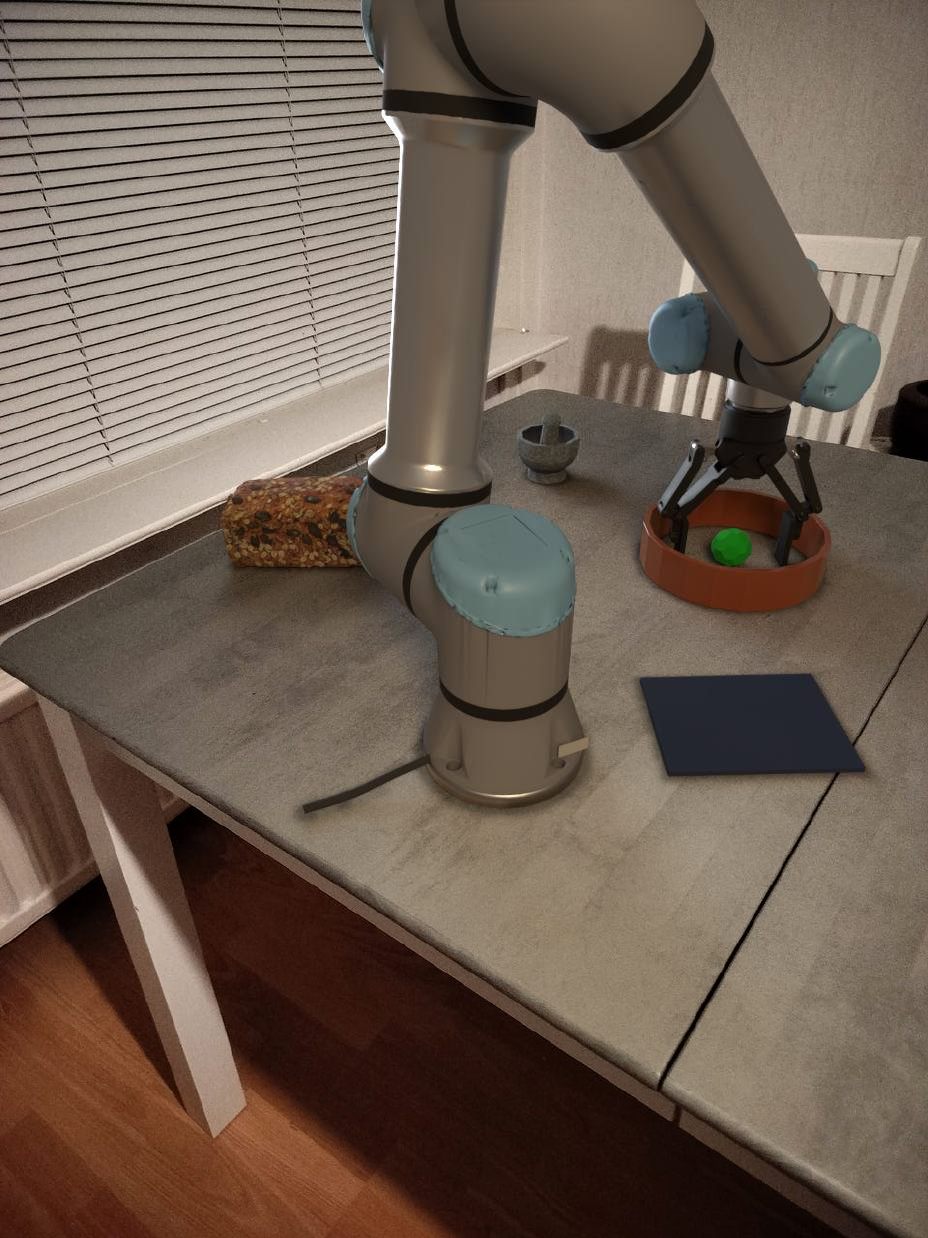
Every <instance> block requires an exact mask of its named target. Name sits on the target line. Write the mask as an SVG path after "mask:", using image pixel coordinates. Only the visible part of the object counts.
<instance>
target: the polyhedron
mask: <svg viewBox="0 0 928 1238" xmlns="http://www.w3.org/2000/svg"><path fill="white" fill-rule="evenodd" d="M710 551H711V553H712V555H713V557H714V560H715V561H716V562H718V563H720V564H721V565H722V566H727V567H735V566H739V565H743V564H744V563H745V562H746V561H747V559H749V557H750V556H752V552H753V544H752V541H751V538H750V537H749V535H748V534H747V533H746V532H744V531H743V530H740V529H739V528H737V527H730V528H727V529H723V530H720V531H719V532H718V533H717V534H716V535H715V537H714V538H713V539H712V540H711V545H710Z"/></svg>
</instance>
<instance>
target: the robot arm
mask: <svg viewBox="0 0 928 1238" xmlns="http://www.w3.org/2000/svg"><path fill="white" fill-rule="evenodd" d="M360 13H361V14H360V15H361V16H360V17H361V23H362V28H363V29H362V30H363V34H364V39H365V43H366V46H367V48H368V50H369V53H370V54H371V55H372V56H373V58H374V60H375V63H376V64H377V66H378V69H379V71H380V72H381V73H382V77H383V78H382V99H381V101H382V103H381V116H382V118H383V119H384V121H385V122H386V124H387V125H388V126H389V128H390V129H391V130H392V132H393V133H394V135H395V136H396V137H397V139H398V142H399V148H400V153H399V156H400V157H399V175H398V190H397V191H398V195H397V215H396V229H395V231H396V233H395V252H394V270H393V271H394V273H393V275H394V276H393V291H392V292H393V293H392V309H391V310H392V313H391V331H390V351H389V369H388V370H389V371H388V389H387V408H386V409H387V411H386V427H385V428H386V429H385V444H384V445H383V446H382V447H380V449H378V450H377V451H376V452H375V453H373V454H372V455H371V456H370V457H369V459H368V462H367V474H366V475H365V476H364V478H363V484H362V485H361V487H360V488H359V489H358V488H357V489H355V491H354V493H353V495H352V498H351V500H350V503H349V507H348V511H347V520H346V524H347V534H348V539H349V542H350V545H351V547H352V549H353V551H354V553H355V555H356V556H357V558H358V559H359V560H360V562H361V564H362V565H361V566H362V567H363V568H364V570H365V571H366V572H367V574H368V575H369V576H370V577H371V578H372V579H374V580H375V581H376V582H377V583H378V584H379V585H381V586H382V587H383V588H384V589H385V590H386V591H388V593H389V594H391V595H392V596H393V597H394V598H395V599H396V600H397V601H398V602H399V603H400V604H401V605H402V606H403V607H404V608H405V609H407V611H408V612H409V613H411V614H412V615H413V616H414V618H416V619H417V620H418V621H419V622H420V623H421V624H422V625H423V626H424V627H425V628H426V629H427V630H428V631H429V632H430V633H431V634H432V635H433V637H434V639H435V642H436V645H437V663H438V665H437V666H438V678H439V679H438V682H439V686H438V689H437V691H436V694H435V697H434V699H433V702H432V705H431V707H430V711H429V714H428V716H427V719H426V722H425V725H424V729H423V733H422V748H423V756H421V757H419V758H417V759H414V760H412V761H410V762H408V763H405V764H404V765H402V766H399V767H397V768H395V769H392V770H391V771H388V772H386V773H384V774H381V775H380V776H378V777H376V778H374V779H372V780H371V781H368V782H366V783H364V784H362V785H359V786H357V787H354V788H352V789H349V790H348V791H344V792H342V793H338V794H336V795H332V796H330V797H329V796H328V797H326V798H322V799H319V800H314V801H312V802H309V803H305V804H302V809H303V812H304V814H308V813H312V812H315V811H318V810H321V809H322V810H323V809H326V808H328V807H331V806H335V805H339V804H341V803H344V802H347V801H351V800H352V799H355V798H358V797H360V796H362V795H365V794H367V793H369V792H371V791H373V790H375V789H377V788H379V787H381V786H382V785H384V784H386V783H389V782H391V781H393V780H395V779H397V778H400V777H403V776H404V775H406V774H408V773H410V772H412V771H414V770H417V769H418V768H422V767H424V766H425V767H426V769H427V771H428V773H429V774H430V776H431V777H432V779H433V780H434V782H436V783H437V784H438V785H439V786H440V787H441V788H442V789H443V790H445V791H446V792H447V793H449V794H451V795H452V796H454V797H455V798H457V799H459V800H462V801H464V802H467V803H470V804H473V805H477V806H481V807H487V808H494V809H517V808H524V807H529V806H532V805H536V804H540V803H543V802H544V801H545V802H546V801H547V800H549V799H551V798H553V797H555V796H557V795H559V794H560V793H562V792H563V791H564V790H566V789H567V788H568V787H569V786H570V785H571V784H572V783H573V781H574V780H575V779H576V778H577V776H578V774H579V772H580V771H581V768H582V765H583V762H584V761H583V760H584V752H585V750H586V749H588V748H589V740H590V739H589V738H590V736H586V737H585V735H584V730H583V727H582V723H581V720H580V717H579V714H578V712H577V708H576V706H575V703H574V700H573V698H572V695H571V692H570V689H569V678H570V677H569V676H570V667H571V666H570V665H571V653H572V642H573V641H572V639H573V630H574V629H573V627H574V614H575V605H576V604H575V603H576V595H577V591H578V589H577V579H576V565H575V554H574V550H573V548H572V547H573V546H572V545H571V543H570V541H569V539H568V538H567V535H566V534H565V532H563V531H562V529H560V527H559V526H558V525H556V523H554V522H553V521H551V520H550V519H548V518H547V517H546V516H543V515H542V514H540V513H538V512H535V511H533V510H531V509H527V508H523V507H522V508H520V509H513V506H512V505H510V504H509V505H508V504H502V503H501V504H499V503H491V498H492V497H491V495H492V489H493V487H492V486H493V479H494V471H493V468H492V467H491V466H490V465H489V464H488V462H487V461H486V460H485V458H484V457H483V456H482V455H481V454H480V449H481V439H482V430H483V423H484V422H483V421H484V411H485V404H486V403H485V402H486V395H487V386H488V385H487V384H488V376H489V375H488V374H489V367H490V366H489V365H490V358H491V347H492V340H493V339H492V338H493V329H494V320H495V310H496V303H497V302H496V301H497V292H498V285H499V284H498V283H499V276H500V275H499V273H500V265H501V256H502V249H503V248H502V246H503V236H504V230H505V229H504V227H505V221H506V220H505V219H506V209H507V200H508V194H509V193H508V191H509V183H510V175H511V166H512V165H511V163H512V159H513V156H514V154H515V153H516V151H517V150H518V149H519V148H520V147H522V146H523V144H524V143H526V142H527V141H528V140H529V139H530V138H531V137H532V136H533V135H534V134H535V129H536V123H537V113H538V107H539V101H541V102H543V103H545V104H547V105H549V106H551V107H552V108H554V109H555V110H556V111H558V112H559V113H561V114H562V115H563V116H565V118H566V119H568V120H570V122H572V124H573V125H574V127H576V129H577V130H578V132H579V133H580V134H581V136H582V137H583V139H584V140H585V142H586V144H588V145H589V147H590V148H591V149H593V150H594V151H596V152H599V153H604V154H605V153H606V154H609V153H610V154H612V153H613V154H614V155H615V157H616V159H617V160H618V161H619V163H620V164H621V165H622V167H623V169H624V170H625V172H626V173H627V175H628V176H629V178H630V180H632V182H633V184H634V185H635V187H636V188H637V189H638V191H639V193H640V194H641V195H642V197H643V198H644V200H645V201H646V202H647V204H648V205H649V207H650V208H651V210H652V212H653V213H654V214H655V216H656V218H657V219H658V220H659V222H660V223H661V225H662V226H663V228H664V229H665V230H666V232H667V234H668V235H669V237H670V238H671V239H672V241H673V243H674V244H675V246H676V247H677V249H678V250H679V251H680V253H681V254H682V256H683V257H684V259H685V260H686V261H687V263H688V264H689V266H690V267H691V269H692V271H693V273H694V274H695V275H696V276H697V279H699V281H700V283H701V284H702V286H703V287H704V288H705V290H706V291H701V292H695V293H694V292H688V293H685V294H684V295H682V296H679V297H675V298H671V299H668V300H666V301H664V302H663V303H661V304H660V305H659V306H658V307H657V308H656V310H655V311H654V312H653V314H652V316H651V318H650V321H649V325H648V335H647V344H648V349H649V353H650V355H651V358H652V359H653V361H654V363H655V365H656V366H657V367H658V368H659V369H660V370H661V371H663V372H664V373H666V374H669V375H671V376H679V375H689V376H690V375H692V374H695V373H697V372H701V371H703V372H709V373H711V374H714V375H717V376H720V377H723V378H726V379H727V382H726V387H725V395H724V396H725V398H726V400H725V401H724V402H723V405H722V412H721V418H720V423H719V424H720V425H719V431H718V437H717V439H716V440H715V442H714V443H703V442H701V441H700V440H699V439H697V438H695V439H692V440H691V441H690V444H689V447H688V452H687V455H686V458H685V459H684V460H683V462H682V463H681V465H680V467H679V469H678V470H677V471H676V473H675V475H674V477H673V478H672V480H671V481H670V483H669V484H668V485H667V488H665V491H663V494H662V495H661V497H660V498H659V499H660V500H659V502H658V503H657V508H658V511H659V513H660V515H661V517H662V518H670V523H669V531H668V533H667V536H668V539H669V541H670V543H671V544H673V549H674V550H676V551H678V552H680V553H682V554H684V555H686V548H687V542H688V535H689V529H690V527H689V522H688V520H687V518H686V517H687V516H688V515H689V514H690V513H691V512H692V511H693V510H694V509H695V508H696V507H697V506H699V505H700V504H701V503H702V502H703V501H704V500H705V499H706V498H707V497H708V496H709V495H710V494H711V493H712V492H713V491H714V490H715V489H716V488H719V486H721V485H722V486H723V485H724V484H725V483H726V482H728V481H729V480H730V479H733V481H742V480H745V479H751V480H760V479H761V478H763V477H764V476H767V477H768V478H769V480H770V482H772V484H773V485H774V487H775V488H776V489H777V491H778V492H779V494H780V495H781V498H783V499H785V501H786V502H787V504H788V505H789V506H790V508H791V509H792V511H791V512H790V511H784V512H783V517H782V521H781V526H780V531H779V535H778V539H777V540H776V545H775V549H774V555H773V556H774V557H775V559H776V561H777V562H778V564H779V565H780V567H784V566H788V563H789V557H790V553H791V549H792V541H793V540H798V539H799V537H800V535H801V531H802V526H803V522H805V521H807V520H808V519H809V514H812V513H814V514H815V515H819V514H821V513H822V512H823V510H824V507H823V504H822V500H821V497H820V494H819V490H818V486H817V483H816V480H815V476H814V473H813V470H812V465H811V462H810V459H811V451H812V446H811V445H810V444H809V442H808V441H806V439H805V438H804V437H803V436H796V437H794V440H789V441H786V436H787V432H788V429H789V424H790V419H791V413H792V407H791V404H792V403H793V402H794V403H796V404H799V405H800V406H802V407H804V408H813V409H818V410H821V411H824V412H828V413H833V414H834V413H835V414H836V413H841V412H846V411H848V410H849V409H851V408H853V407H854V406H856V404H858V403H859V402H860V401H861V400H862V399H863V398H864V396H865V394H866V393H867V392H868V390H869V389H870V388H871V387H872V385H873V383H874V381H875V380H876V378H877V375H878V373H879V370H880V365H881V360H882V345H881V342H880V339H879V337H878V336H877V334H875V333H873V332H872V331H871V330H868V329H866V328H863V327H861V326H858V324H857V323H854V322H848V323H846V322H842V321H841V320H840V319H839V318H838V316H837V314H836V312H835V310H834V308H833V307H832V305H831V304H830V300H829V299H828V297H827V295H826V294H825V291H824V289H823V287H822V285H821V283H820V281H819V279H818V276H819V267H818V265H817V263H815V262H814V261H813V260H812V259H810V258H808V257H807V255H806V254H805V252H804V250H803V248H802V246H801V244H800V242H799V239H798V238H797V237H796V235H795V233H794V230H793V229H792V226H791V225H790V223H789V221H788V219H787V216H786V215H785V212H784V210H783V209H782V207H781V205H780V203H779V201H778V199H777V198H776V195H775V193H774V192H773V190H772V187H771V185H770V184H769V182H768V180H767V177H766V176H765V174H764V171H763V170H762V168H761V166H760V164H759V162H758V161H757V158H756V156H755V154H754V152H753V151H752V149H751V147H750V145H749V142H748V140H747V139H746V136H745V134H744V132H743V131H742V129H741V127H740V125H739V123H738V121H737V119H736V117H735V115H734V113H733V111H732V108H731V107H730V105H729V103H728V101H727V100H726V97H725V96H724V93H723V92H722V90H721V87H720V85H719V84H718V81H717V80H716V78H715V76H714V74H713V73H712V68H713V65H714V61H715V58H716V52H717V45H716V39H715V37H714V35H713V33H712V29H711V28H710V27H709V24H708V21H707V20H706V18H705V16H704V14H703V12H702V11H701V9H700V7H699V5H698V4H697V2H696V0H360ZM786 454H787V455H788V457H789V458H790V459H791V460H792V461H793V465H794V467H795V471H796V475H797V478H798V481H799V485H800V488H801V491H802V494H803V497H804V501H801V502H800V500H799V498H798V497H797V496H796V494H795V493H794V491H793V490H792V489H791V487H790V486H789V484H788V483H787V481H786V480H785V479H784V477H783V475H782V474H781V472H780V471H779V470H778V468H777V467H776V466H775V465H777V463H778V462H780V461H781V460H782V458H784V457H785V455H786ZM711 456H714V457H715V458H716V460H715V461H714V462H713V463H712V464H711V465H709V467H708V469H707V471H706V472H705V473H704V474H703V475H702V476H701V477H700V478H699V479H698V480H697V481H696V482H695V483H694V484H693V485H692V486H691V484H692V482H693V481H694V479H695V478H696V476H697V475H698V473H699V472H700V470H701V468H702V465H703V463H706V462H708V460H709V458H710V457H711ZM690 486H691V487H690ZM689 487H690V488H689ZM686 490H688V491H687V492H686V493H685V491H686ZM684 493H685V494H684ZM683 494H684V495H683ZM490 503H491V504H490Z"/></svg>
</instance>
